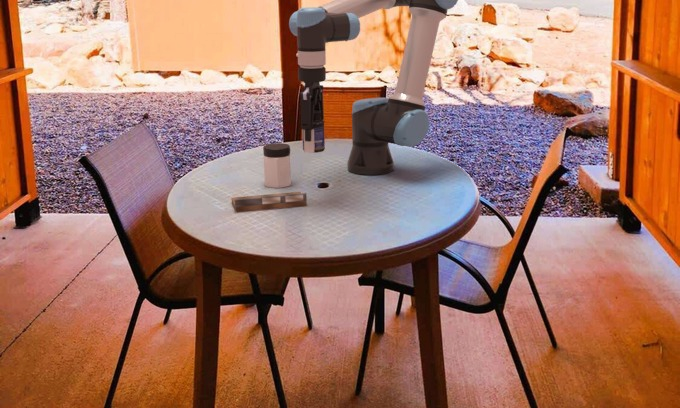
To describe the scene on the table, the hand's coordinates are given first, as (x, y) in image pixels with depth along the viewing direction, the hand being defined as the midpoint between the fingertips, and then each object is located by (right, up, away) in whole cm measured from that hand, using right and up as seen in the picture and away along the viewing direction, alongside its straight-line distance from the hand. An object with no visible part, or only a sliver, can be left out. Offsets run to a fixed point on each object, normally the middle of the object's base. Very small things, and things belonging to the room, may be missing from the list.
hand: (313, 149), depth 219 cm
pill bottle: (0, -1, 0) cm, 1 cm away
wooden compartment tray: (-13, -15, +3) cm, 20 cm away
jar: (-12, -9, +22) cm, 27 cm away
